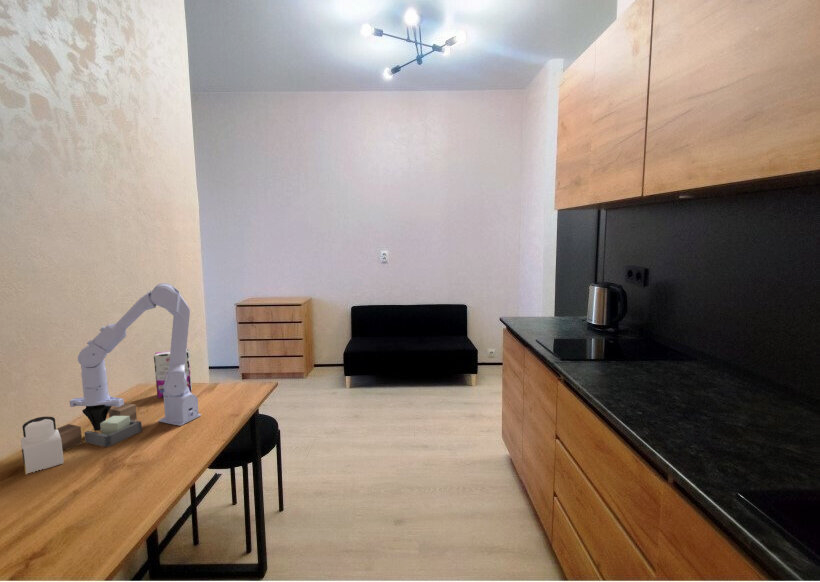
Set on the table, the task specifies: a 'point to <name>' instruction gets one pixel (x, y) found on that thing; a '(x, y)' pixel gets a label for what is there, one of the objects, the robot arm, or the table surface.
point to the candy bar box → (163, 367)
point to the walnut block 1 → (70, 436)
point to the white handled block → (41, 444)
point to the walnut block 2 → (124, 411)
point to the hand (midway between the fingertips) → (99, 428)
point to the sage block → (114, 424)
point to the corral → (113, 435)
